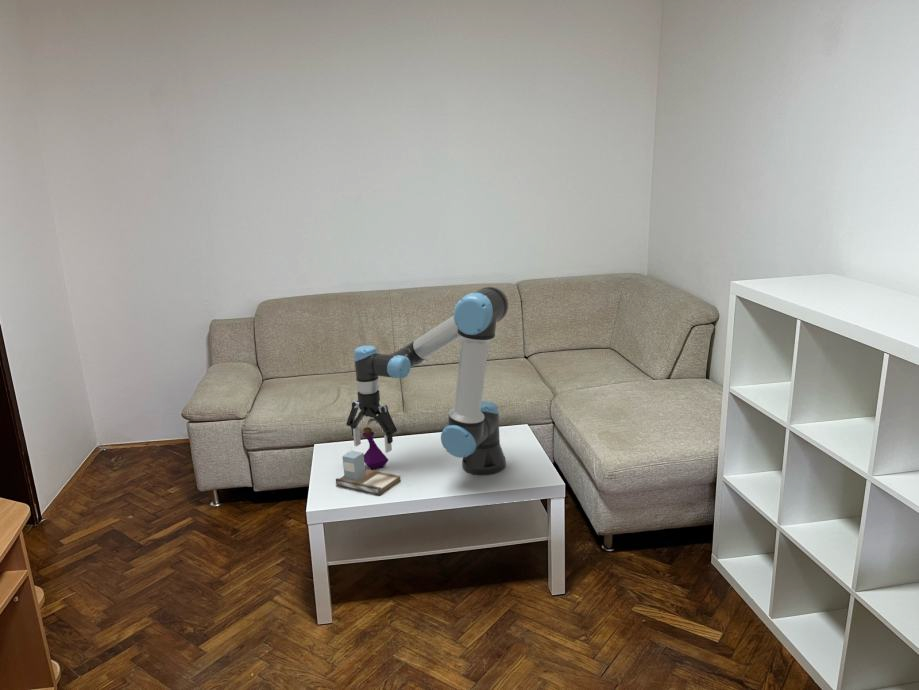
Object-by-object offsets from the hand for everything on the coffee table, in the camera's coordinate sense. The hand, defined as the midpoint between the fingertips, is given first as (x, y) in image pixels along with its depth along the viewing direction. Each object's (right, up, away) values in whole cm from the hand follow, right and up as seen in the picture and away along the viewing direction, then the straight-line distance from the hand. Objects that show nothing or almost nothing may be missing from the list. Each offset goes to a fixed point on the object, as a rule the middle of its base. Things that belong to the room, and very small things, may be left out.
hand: (372, 448), depth 253 cm
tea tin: (-5, -8, -10) cm, 14 cm away
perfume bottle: (+1, -7, +2) cm, 7 cm away
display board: (0, -10, -11) cm, 15 cm away
